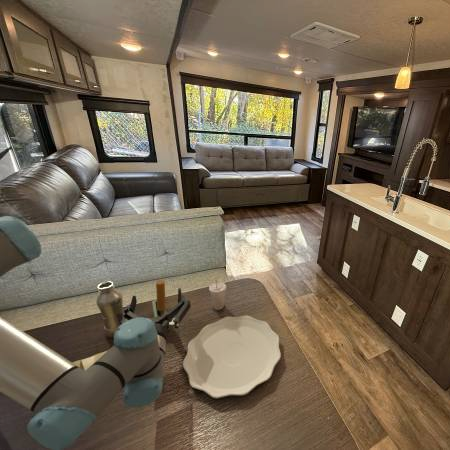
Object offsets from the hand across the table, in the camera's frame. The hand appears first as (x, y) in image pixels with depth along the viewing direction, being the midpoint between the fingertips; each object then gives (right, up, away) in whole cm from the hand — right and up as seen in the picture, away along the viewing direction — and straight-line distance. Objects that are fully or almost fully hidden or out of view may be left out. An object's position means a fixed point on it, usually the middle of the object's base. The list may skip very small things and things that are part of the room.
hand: (158, 294), depth 85 cm
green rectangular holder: (-1, -11, +4) cm, 12 cm away
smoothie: (+16, -9, +14) cm, 23 cm away
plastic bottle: (-12, -13, -2) cm, 18 cm away
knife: (-1, -11, +4) cm, 12 cm away
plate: (+28, -18, -5) cm, 34 cm away
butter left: (-13, -17, -18) cm, 28 cm away
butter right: (-7, -17, -14) cm, 23 cm away
